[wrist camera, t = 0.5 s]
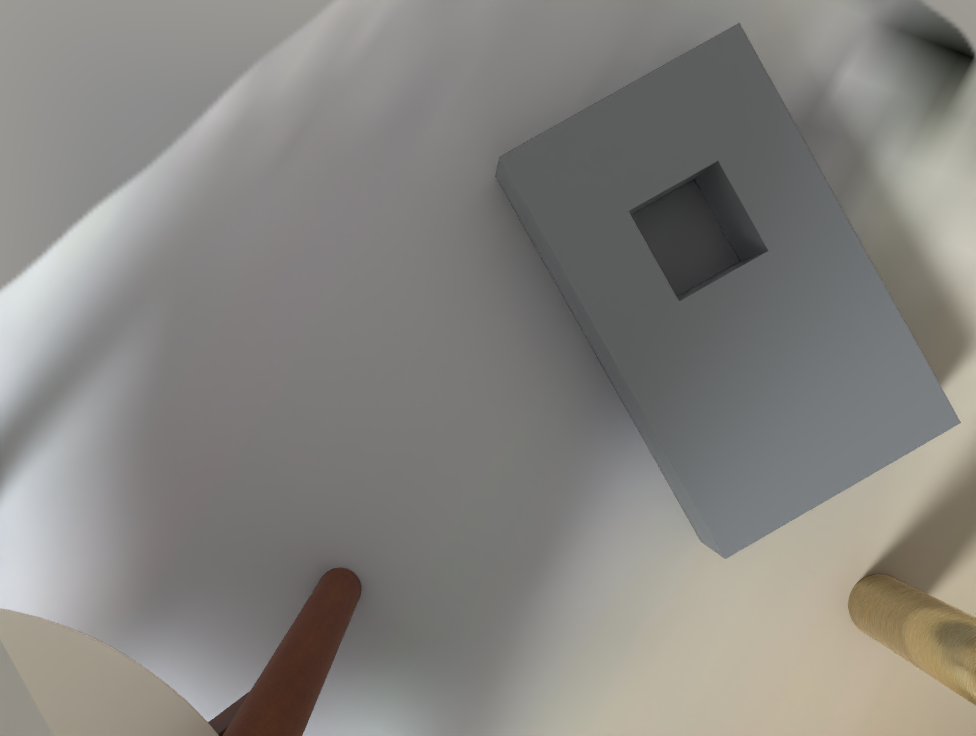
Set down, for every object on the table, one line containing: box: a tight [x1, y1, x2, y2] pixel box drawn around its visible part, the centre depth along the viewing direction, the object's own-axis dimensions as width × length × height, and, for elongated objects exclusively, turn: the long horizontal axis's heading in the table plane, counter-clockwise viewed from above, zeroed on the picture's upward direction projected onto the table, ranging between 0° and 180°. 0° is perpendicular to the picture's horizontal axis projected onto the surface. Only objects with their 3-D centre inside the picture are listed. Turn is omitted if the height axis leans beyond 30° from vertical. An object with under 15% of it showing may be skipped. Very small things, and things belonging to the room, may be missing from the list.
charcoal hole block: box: [496, 23, 961, 559], centre depth 42 cm, size 20×12×4 cm, turn 29°
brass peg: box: [848, 574, 976, 705], centre depth 37 cm, size 3×3×14 cm
